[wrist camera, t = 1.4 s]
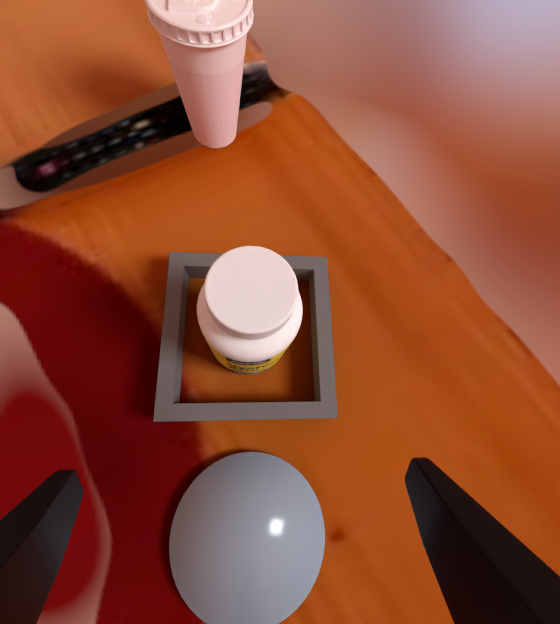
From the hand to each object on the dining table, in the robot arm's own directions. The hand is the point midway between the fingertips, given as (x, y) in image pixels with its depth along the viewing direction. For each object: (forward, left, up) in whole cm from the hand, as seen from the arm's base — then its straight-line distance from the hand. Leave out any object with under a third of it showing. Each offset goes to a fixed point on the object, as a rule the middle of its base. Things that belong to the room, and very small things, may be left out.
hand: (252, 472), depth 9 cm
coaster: (-4, -4, -13) cm, 14 cm away
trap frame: (+5, +5, -13) cm, 14 cm away
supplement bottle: (+5, +5, -13) cm, 14 cm away
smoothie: (+15, +20, -13) cm, 28 cm away
